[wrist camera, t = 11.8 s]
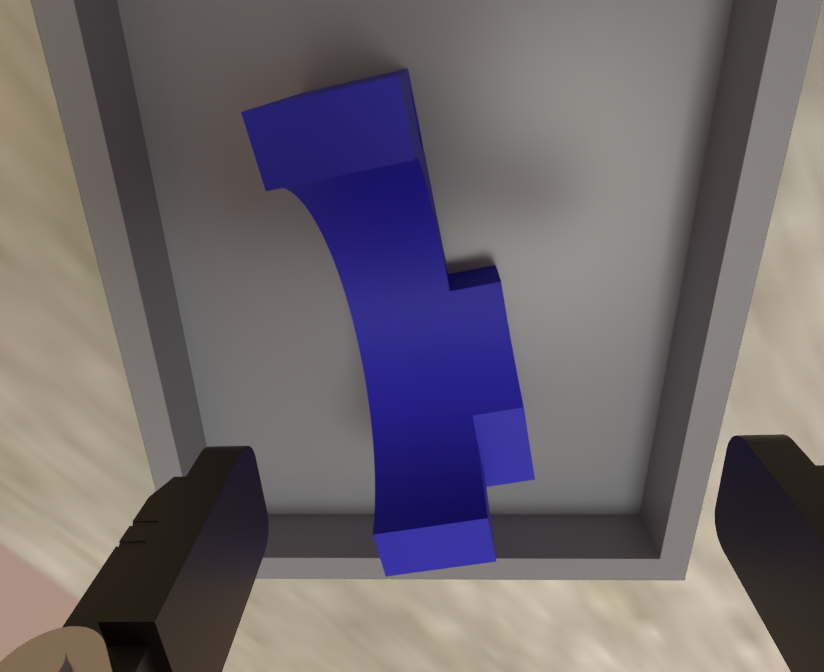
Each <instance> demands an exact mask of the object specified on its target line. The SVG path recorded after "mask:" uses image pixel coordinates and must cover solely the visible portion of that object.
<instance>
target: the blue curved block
mask: <svg viewBox="0 0 824 672" xmlns="http://www.w3.org/2000/svg"><path fill="white" fill-rule="evenodd" d="M241 114H242V117H243V120H244V123H245V127H246V130H247V133H248V136H249V139H250V143H251V146H252V149H253V152H254V155H255V159H256V162H257V165H258V168H259V171H260V175H261V178H262V181H263V184H264V188H265V191H270V190H275V189H280V188H285V189H287V190H289V191H290V192H292V193H293V194H294V195H295V196H297V197H298V198H299V199H300V201H301V202H302V203H303V204H304V205H305V207H306V208H307V209H308V211H309V212H310V214H311V215H312V217H313V219H314V220H315V222H316V224H317V225H318V227H319V229H320V231H321V233H322V235H323V237H324V239H325V241H326V244H327V246H328V248H329V250H330V253H331V255H332V258H333V260H334V263H335V266H336V268H337V271H338V274H339V277H340V280H341V283H342V286H343V289H344V292H345V295H346V299H347V302H348V305H349V309H350V313H351V316H352V320H353V324H354V328H355V332H356V336H357V341H358V345H359V350H360V355H361V360H362V365H363V370H364V376H365V382H366V388H367V395H368V402H369V409H370V417H371V426H372V437H373V449H374V467H375V511H374V526H373V537H374V541H375V544H376V547H377V550H378V553H379V557H380V560H381V563H382V566H383V569H384V573H385V576H386V577H387V576H394V575H401V574H409V573H416V572H423V571H431V570H438V569H445V568H453V567H460V566H467V565H475V564H482V563H489V562H497V561H496V554H495V547H494V539H493V532H492V524H491V517H490V510H489V502H488V495H487V488H486V487H490V486H496V485H503V484H510V483H516V482H523V481H529V480H535V476H534V470H533V463H532V457H531V450H530V444H529V437H528V431H527V424H526V418H525V411H524V406H523V401H522V395H521V390H520V385H519V380H518V375H517V370H516V364H515V359H514V354H513V348H512V343H511V337H510V331H509V326H508V320H507V314H506V308H505V302H504V296H503V290H502V283H501V279H500V276H499V273H498V270H497V267H496V265H494V266H489V267H483V268H478V269H473V270H468V271H462V272H457V273H452V274H448V271H447V265H446V260H445V255H444V250H443V245H442V240H441V235H440V229H439V224H438V219H437V214H436V209H435V204H434V199H433V194H432V188H431V183H430V178H429V173H428V168H427V163H426V158H425V153H424V147H423V142H422V137H421V132H420V127H419V122H418V117H417V112H416V106H415V101H414V96H413V91H412V86H411V81H410V76H409V71H408V69H404V70H399V71H395V72H391V73H386V74H382V75H378V76H374V77H369V78H365V79H361V80H356V81H352V82H348V83H343V84H339V85H335V86H330V87H326V88H322V89H317V90H313V91H309V92H304V93H300V94H297V95H294V96H291V97H288V98H284V99H281V100H278V101H275V102H271V103H268V104H265V105H262V106H259V107H255V108H252V109H249V110H246V111H242V112H241Z"/></svg>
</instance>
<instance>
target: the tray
mask: <svg viewBox="0 0 824 672" xmlns="http://www.w3.org/2000/svg"><path fill="white" fill-rule="evenodd" d="M822 1H823V0H31V4H32V7H33V11H34V15H35V19H36V23H37V27H38V31H39V35H40V39H41V43H42V47H43V51H44V54H45V58H46V62H47V66H48V70H49V74H50V78H51V82H52V86H53V90H54V94H55V98H56V101H57V105H58V109H59V113H60V117H61V121H62V125H63V129H64V133H65V137H66V141H67V145H68V149H69V152H70V156H71V160H72V164H73V168H74V172H75V176H76V180H77V184H78V188H79V192H80V196H81V199H82V203H83V207H84V211H85V215H86V219H87V223H88V227H89V231H90V235H91V239H92V243H93V246H94V250H95V254H96V258H97V262H98V266H99V270H100V274H101V278H102V282H103V286H104V290H105V294H106V297H107V301H108V305H109V309H110V313H111V317H112V321H113V325H114V329H115V333H116V337H117V341H118V344H119V348H120V352H121V356H122V360H123V364H124V368H125V372H126V376H127V380H128V384H129V388H130V391H131V395H132V399H133V403H134V407H135V411H136V415H137V419H138V423H139V427H140V431H141V435H142V439H143V442H144V446H145V450H146V454H147V458H148V462H149V466H150V470H151V474H152V478H153V482H154V486H155V489H156V491H157V490H158V489H160V488H161V487H162V486H163V485H165V484H166V483H167V482H168V481H169V480H171V479H172V478H173V477H186V476H187V474H188V472H189V471H190V469H191V467H192V466H193V464H194V463H195V461H196V459H197V458H198V456H199V454H200V453H201V451H202V450H203V449H204V448H205V447H213V446H250V447H251V448H252V449H253V451H254V453H255V457H256V461H257V466H258V471H259V475H260V480H261V485H262V489H263V494H264V499H265V503H266V508H267V513H268V521H269V531H268V541H267V546H266V550H265V553H264V556H263V559H262V562H261V564H260V567H259V570H258V573H257V575H256V578H255V579H490V580H685V576H686V571H687V567H688V563H689V559H690V555H691V550H692V546H693V542H694V538H695V534H696V529H697V525H698V521H699V517H700V513H701V509H702V504H703V500H704V496H705V492H706V488H707V483H708V479H709V475H710V471H711V467H712V462H713V458H714V454H715V450H716V446H717V441H718V437H719V433H720V429H721V425H722V420H723V416H724V412H725V408H726V404H727V399H728V395H729V391H730V387H731V383H732V378H733V374H734V370H735V366H736V362H737V358H738V353H739V349H740V345H741V341H742V337H743V332H744V328H745V324H746V320H747V316H748V311H749V307H750V303H751V299H752V295H753V290H754V286H755V282H756V278H757V274H758V269H759V265H760V261H761V257H762V253H763V248H764V244H765V240H766V236H767V232H768V227H769V223H770V219H771V215H772V211H773V207H774V202H775V198H776V194H777V190H778V186H779V181H780V177H781V173H782V169H783V165H784V160H785V156H786V152H787V148H788V144H789V139H790V135H791V131H792V127H793V123H794V118H795V114H796V110H797V106H798V102H799V97H800V93H801V89H802V85H803V81H804V76H805V72H806V68H807V64H808V60H809V56H810V51H811V47H812V43H813V39H814V35H815V30H816V26H817V22H818V18H819V14H820V9H821V5H822ZM404 69H408V71H409V76H410V81H411V86H412V91H413V96H414V101H415V106H416V112H417V117H418V122H419V127H420V132H421V137H422V142H423V147H424V153H425V158H426V163H427V168H428V173H429V178H430V183H431V188H432V194H433V199H434V204H435V209H436V214H437V219H438V224H439V229H440V235H441V240H442V245H443V250H444V255H445V260H446V265H447V271H448V274H452V273H457V272H462V271H468V270H473V269H478V268H483V267H489V266H494V265H496V267H497V270H498V273H499V276H500V279H501V283H502V290H503V296H504V302H505V308H506V314H507V320H508V326H509V331H510V337H511V343H512V348H513V354H514V359H515V364H516V370H517V375H518V380H519V385H520V390H521V395H522V401H523V406H524V411H525V418H526V424H527V431H528V437H529V444H530V450H531V457H532V463H533V470H534V476H535V480H529V481H523V482H516V483H510V484H503V485H496V486H490V487H486V488H487V495H488V502H489V510H490V517H491V524H492V532H493V539H494V547H495V554H496V561H497V562H489V563H482V564H475V565H467V566H460V567H453V568H445V569H438V570H431V571H423V572H416V573H409V574H401V575H394V576H387V577H386V576H385V573H384V569H383V566H382V563H381V560H380V557H379V553H378V550H377V547H376V544H375V541H374V537H373V526H374V511H375V467H374V449H373V437H372V426H371V417H370V409H369V402H368V395H367V388H366V382H365V376H364V370H363V365H362V360H361V355H360V350H359V345H358V341H357V336H356V332H355V328H354V324H353V320H352V316H351V313H350V309H349V305H348V302H347V299H346V295H345V292H344V289H343V286H342V283H341V280H340V277H339V274H338V271H337V268H336V266H335V263H334V260H333V258H332V255H331V253H330V250H329V248H328V246H327V244H326V241H325V239H324V237H323V235H322V233H321V231H320V229H319V227H318V225H317V224H316V222H315V220H314V219H313V217H312V215H311V214H310V212H309V211H308V209H307V208H306V207H305V205H304V204H303V203H302V202H301V201H300V199H299V198H298V197H297V196H295V195H294V194H293V193H292V192H290V191H289V190H287V189H285V188H280V189H275V190H270V191H265V188H264V184H263V181H262V178H261V175H260V171H259V168H258V165H257V162H256V159H255V155H254V152H253V149H252V146H251V143H250V139H249V136H248V133H247V130H246V127H245V123H244V120H243V117H242V114H241V112H242V111H246V110H249V109H252V108H255V107H259V106H262V105H265V104H268V103H271V102H275V101H278V100H281V99H284V98H288V97H291V96H294V95H297V94H300V93H304V92H309V91H313V90H317V89H322V88H326V87H330V86H335V85H339V84H343V83H348V82H352V81H356V80H361V79H365V78H369V77H374V76H378V75H382V74H386V73H391V72H395V71H399V70H404Z"/></svg>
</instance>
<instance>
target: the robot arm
mask: <svg viewBox="0 0 824 672" xmlns="http://www.w3.org/2000/svg"><path fill="white" fill-rule="evenodd" d="M715 526H716V531H717V536H718V539H719V542H720V544H721V547H722V549H723V551H724V553H725V554H726V556H727V558H728V560H729V562H730V563H731V565H732V567H733V569H734V571H735V572H736V574H737V576H738V578H739V579H740V581H741V583H742V585H743V587H744V588H745V590H746V592H747V594H748V596H749V597H750V599H751V601H752V603H753V605H754V606H755V608H756V610H757V612H758V614H759V615H760V617H761V619H762V621H763V622H764V624H765V626H766V628H767V630H768V631H769V633H770V635H771V637H772V639H773V640H774V642H775V644H776V646H777V648H778V649H779V651H780V653H781V655H782V656H783V658H784V660H785V662H786V664H787V665H788V667H789V669H790V671H791V672H824V465H822V466H815V464H814V463H813V462H812V461H811V460H810V459H809V458H808V457H807V456H806V454H805V453H804V452H803V451H802V450H801V449H800V448H799V447H798V446H797V444H796V443H795V442H794V441H793V440H792V439H791V438H790V437H788V436H787V435H742V436H734V437H732V438H731V440H730V441H729V443H728V446H727V451H726V456H725V461H724V466H723V471H722V476H721V481H720V487H719V492H718V497H717V502H716V507H715ZM268 531H269V521H268V513H267V508H266V503H265V499H264V494H263V489H262V485H261V480H260V475H259V471H258V466H257V461H256V457H255V453H254V451H253V449H252V448H251V447H250V446H213V447H205V448H204V449H203V450H202V451H201V453H200V454H199V456H198V458H197V459H196V461H195V463H194V464H193V466H192V467H191V469H190V471H189V472H188V474H187V476H186V477H173V478H172V479H171V480H169V481H168V482H167V483H166V484H165V485H163V486H162V487H161V488H160V489H158V490H157V491H156V492H155V493H154V494H152V495H151V496H150V497H149V498H148V499H147V501H146V502H145V504H144V505H143V507H142V508H141V510H140V511H139V513H138V514H137V516H136V517H135V519H134V520H133V526H129V528H128V529H127V531H126V532H125V534H124V535H123V537H122V538H121V540H120V541H119V542H120V544H119V547H115V549H114V550H113V552H112V553H111V555H110V556H109V558H108V559H107V561H106V562H105V564H104V565H103V567H102V568H101V570H100V571H99V573H98V574H97V576H96V577H95V579H94V580H93V582H92V583H91V585H90V586H89V588H88V589H87V591H86V592H85V594H84V595H83V597H82V598H81V600H80V601H79V603H78V605H77V606H76V607H75V609H74V611H73V612H72V614H71V615H70V617H69V618H68V620H67V621H66V623H65V624H64V625H63V627H62V628H59V629H55V630H51V631H48V632H46V633H43V634H41V635H39V636H37V637H35V638H33V639H31V640H29V641H27V642H26V643H24V644H22V645H21V646H19V647H18V648H16V649H15V650H14V651H13V652H11V653H10V654H9V655H7V656H6V657H5V658H4V659H3V660H2V661H1V662H0V672H222V670H223V667H224V664H225V662H226V659H227V656H228V653H229V650H230V648H231V645H232V642H233V639H234V637H235V634H236V631H237V628H238V625H239V623H240V620H241V617H242V614H243V612H244V609H245V606H246V603H247V600H248V598H249V595H250V592H251V589H252V587H253V584H254V581H255V578H256V575H257V573H258V570H259V567H260V564H261V562H262V559H263V556H264V553H265V550H266V546H267V541H268Z"/></svg>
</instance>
